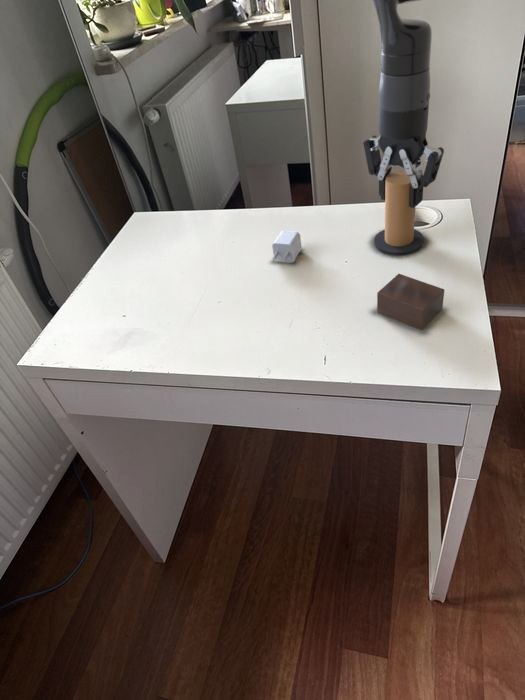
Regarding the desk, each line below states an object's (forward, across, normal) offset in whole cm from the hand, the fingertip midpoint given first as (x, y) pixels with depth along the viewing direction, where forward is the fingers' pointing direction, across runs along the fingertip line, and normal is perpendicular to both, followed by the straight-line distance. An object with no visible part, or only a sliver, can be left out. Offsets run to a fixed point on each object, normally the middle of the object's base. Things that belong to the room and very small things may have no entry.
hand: (400, 201), depth 92 cm
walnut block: (+8, +12, -16) cm, 22 cm away
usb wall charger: (+8, -15, -15) cm, 23 cm away
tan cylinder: (+6, 0, +4) cm, 7 cm away
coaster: (+8, 0, 0) cm, 8 cm away
